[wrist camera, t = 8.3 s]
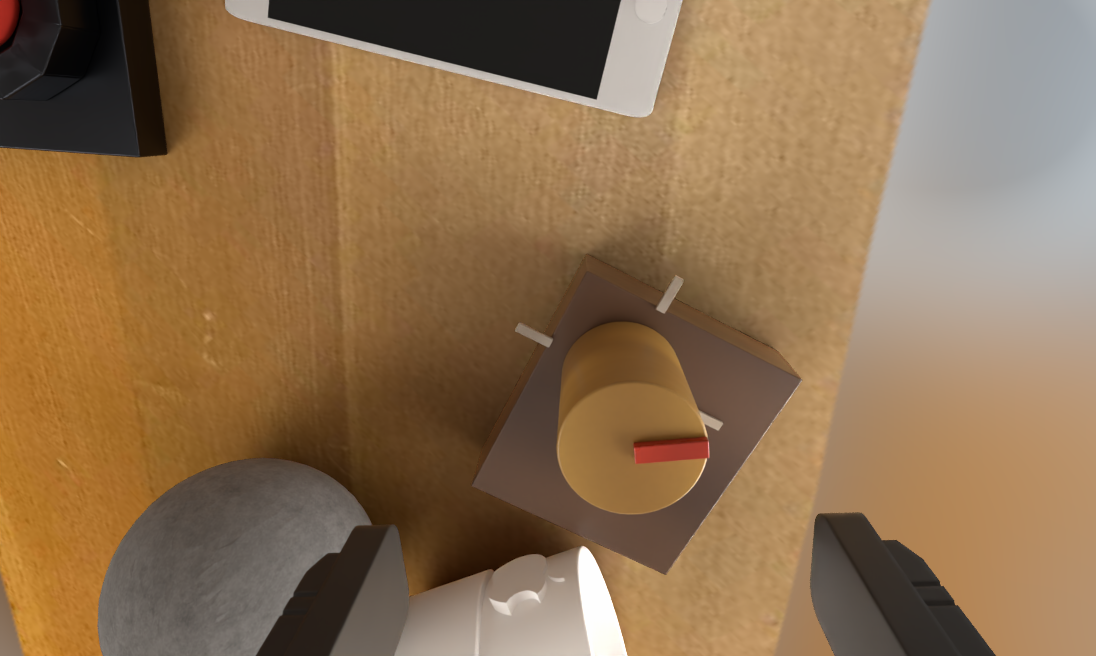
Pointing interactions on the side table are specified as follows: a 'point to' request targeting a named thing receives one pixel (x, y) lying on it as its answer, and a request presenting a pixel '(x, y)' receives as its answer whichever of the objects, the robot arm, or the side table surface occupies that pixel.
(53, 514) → the side table surface
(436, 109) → the side table surface
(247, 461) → the decorative ball
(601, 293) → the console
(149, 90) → the button box
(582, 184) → the side table surface
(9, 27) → the button
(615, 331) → the knob
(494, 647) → the mug
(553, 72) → the smartphone
